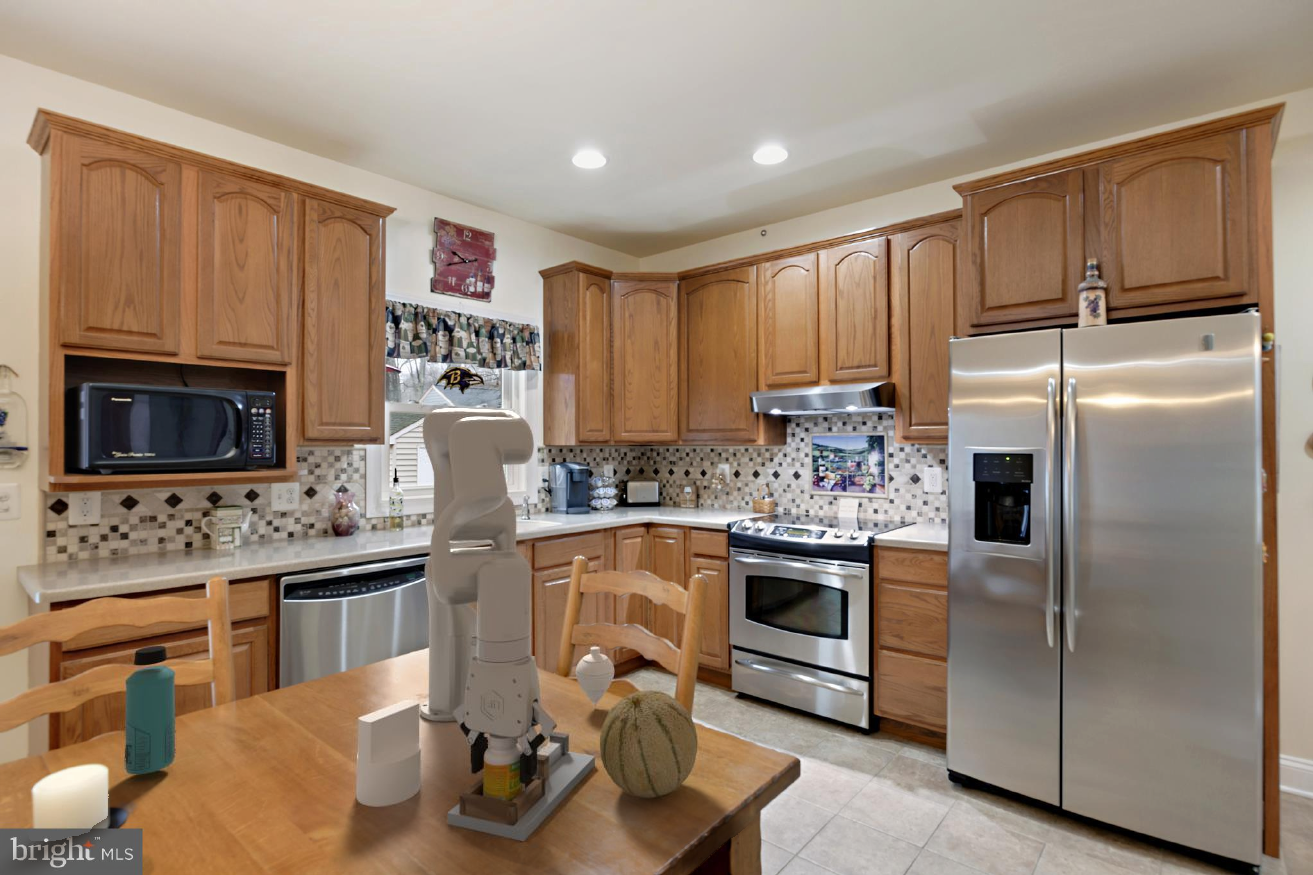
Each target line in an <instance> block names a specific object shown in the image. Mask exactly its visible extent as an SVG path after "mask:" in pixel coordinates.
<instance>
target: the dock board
mask: <svg viewBox="0 0 1313 875" xmlns="http://www.w3.org/2000/svg"><path fill="white" fill-rule="evenodd" d="M544 747H545V746H539V747H538V748H537V753H538V752H539V751H540V750H541V749H542V748H544ZM523 752H524V751H523ZM537 765H538V776H542V777H545V795H544V796H543V797H542V798H541V799H540V800H539V801H538V802H537V803H536V804H535V805H534V806H533V807H532V808H531V809H530V810H529V811H528V812H527V813H526V814H525V815H524V816H523V817H522V818H521V819H520V820H519V821H518V822H517V823H516V824H515V825H514V826H510V825H505V824H501V823H496V822H492V821H487V820H483V819H478V818H474V817H469V816H465V815H460V814H459V803H458V804H456V805H455V806H453V808H451V809H450V810H449V811H448V812H447V822H446V823H447V825H451V826H455V827H459V828H465V829H469V830H473V831H477V832H482V833H486V834H489V835H490V834H491V835H494V836H499V837H502V838H506V839H510V840H511V839H512V840H516V841H521V842H525V841H526V839H527V838H528V837H529V836H531V834H532V833H533V832H534V831H535V830H536V829H537V828H538V827H539V826H540V825H541V823H543V822H544V821H545V819H546V818H548V817H549V815H550V814H551V813H552V812H553V811H554V810H555V809H556V808H557V806H558V805H559V804H560V803H561V802H562V801H563V800H564V799H565V798H566V797H567V796H568V795H569V794H570V793H571V792H572V790H574V788H575V787H577V785H578V784H579V783H580V782H581V781H582V780H583V779H584V778H585V777H586V775H588V773H589V772H591V770H592V769H593V768H594V767H595V766H596V756H595V755H591V754H584V753H578V752H573V751H569V752H567V753H566V754H565V755H562V756H561V757H560V758H558V759H557V760H556V761H555V762H554V763H553V764H552V765H551V766H550V767H549V756H546V755H541V754H537ZM524 789H525V784H522V791H523V790H524Z"/></svg>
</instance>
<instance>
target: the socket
mask: <svg viewBox="0 0 1313 875" xmlns="http://www.w3.org/2000/svg"><path fill="white" fill-rule="evenodd" d="M483 779H484V776H482V777H481V778H479V780H477V781H476V782H475V783H474V784H473V785H471V786H470V787H469V788H467V789H466V790H465V791H464V792H462V793H461V794H460V795H459V796H458V797H459V800H458V801H459V802H458V804H459V814H460V815H465V816H469V817H474V818H478V819H483V820H487V821H492V822H496V823H501V824H505V825H510V826H514V825H515V824H516V823H517V822H518V821H519V820H520V819H521V818H522V817H523V816H524V815H525V814H526V813H527V812H528V811H529V810H530V809H531V808H532V807H533V806H534V805H535V804H536V803H537V802H538V801H539V800H540V799H541V798H542V797H543V796H544V795H545V777H542V776H537V775H534V776H533V777H532V778H531V779H530V780H529V781H528V782H527V783H525V789H524V790H523V791H522V792H521V793H520V794H519V795H518V796H517V797H516V798H515V799H514V800H513V801H512V802H508V801H504V800H499V799H494V798H489V797H484V796H483Z"/></svg>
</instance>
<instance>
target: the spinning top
mask: <svg viewBox="0 0 1313 875" xmlns="http://www.w3.org/2000/svg"><path fill="white" fill-rule="evenodd" d="M589 651H590V653H589V654H587V655H585V656H582V658H581V659H580V661H579V662H578V663H577V665H576V669H575V677H576V681H577V683H578V684H579V687H580V688H581V690H582V691H583V693H584V695H585V696H586V697H587V698H588V699H589V701H590V702H591V703H592V704H593V708H594V709H597V704H598V703H599V701H601V699H603V697H604V695H605V694H606V692H607V691H608V689H609V687H610V686H611V684H612V681H613V679H614V676H615V667H614V664H613V662H612V660H610V659H609V657H608V656H607V655H605V654H602V653H600V652H601V647H599V646H592V647H590V650H589Z"/></svg>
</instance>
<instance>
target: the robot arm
mask: <svg viewBox="0 0 1313 875" xmlns="http://www.w3.org/2000/svg"><path fill="white" fill-rule="evenodd" d="M532 432H533V431H532V429H531V427H530V425H529V423H528V422H527V420H526V419H525V418H524V417H522V416H521V415H519V414H517V413H516V412H514V411H511V410H503V409H502V410H500V409H476V408H441V409H440V408H439V409H435V410H432V411H429V412H428V413H427V414H426V415H425V416H424V418H423V422H422V438H423V444H424V447H425V450H426V452H427V456H428V458H429V461H430V463H431V467H432V471H433V530H432V533H431V538H430V547H429V548H430V556H429V557H428V558H427V560H426V562H425V565H424V578H425V586H426V587H425V588H426V592H427V600H428V602H427V603H428V623H429V624H428V629H429V630H428V699H427V700H425V701H424V702H423V703H421V705H420V707H419V714H420V716H421V717H422V718H424V719H426V720H429V721H432V722H433V721H434V722H456V721H457V723H458V724H459V729H460V730H461V731H462V733H463V734H464V735H465V737H466V743H467V744H468V745H469V746H470V766H471V769H470V770H471V773H470V774H472V775H476V774H479V772H481V771H482V770H484V754H485V751H486V750H487V749H488V748H489V736H485V735H486V734H487V735H489V734H492V735H498V736H504V737H511V738H518V742H519V743H520V747H521V748H522V750H523V751H524V752H523V753H522V754H521V755H520V782H521V783H522V784H525V783H527V782H528V781H529V780H530V779H531V778H532V777H533V776H534V775H535V773H536V771H537V748H538V747H541V746H542V744H544V743H545V741H547V740H548V739H549V738H550V735H551V734H552V733H553V732H555V730H556V728H557V727H558V725H557V722H556V721H555V720H554V719H553V718H552V716H550V714H548V712H546V710H545V709H544V708H543V707H542V706H541V705H542V703H541V689H540V680H539V672H538V667H537V662H536V656H533V655H532V567H531V565H530V563H529V560H528V559H526V557H525V556H524V554H523V553H522V552H521V551H518V550H517V512H516V507H515V504H514V501H513V500H512V498H511V497H509V496H508V493H509V492H508V486H507V481H506V476H505V469H504V465H505V466H506V465H508V466H509V465H510V466H511V465H524V464H527V463H529V462H530V460H531V459H532V458H533V453H534V448H535V447H534V446H535V444H534V435H533V433H532ZM475 542H477V543H478V542H479V543H480V542H490V543H491V546H483V547H482V546H481V547H480V546H479V547H459V548H451V543H452V544H455V543H456V544H457V543H460V544H462V543H475ZM471 604H476V610H475V609H474V607H473V606H472V605H471ZM538 725H540V727H541V730H540V731H539V733H538V731H537V730H536V727H537V726H538Z"/></svg>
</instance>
